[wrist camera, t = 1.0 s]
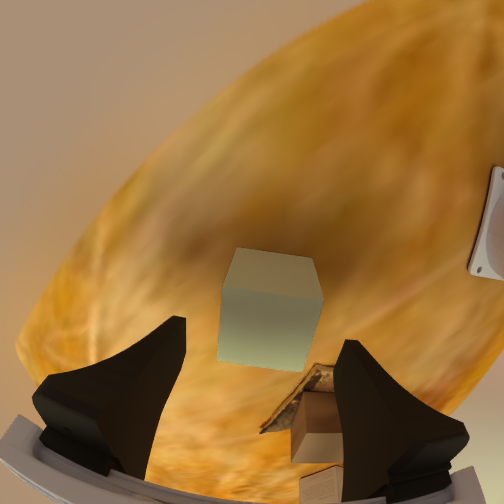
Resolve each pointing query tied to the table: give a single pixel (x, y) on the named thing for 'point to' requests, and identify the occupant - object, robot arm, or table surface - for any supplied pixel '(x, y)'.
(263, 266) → the sage block
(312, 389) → the shard
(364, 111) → the table surface
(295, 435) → the walnut block
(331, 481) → the skincare box
